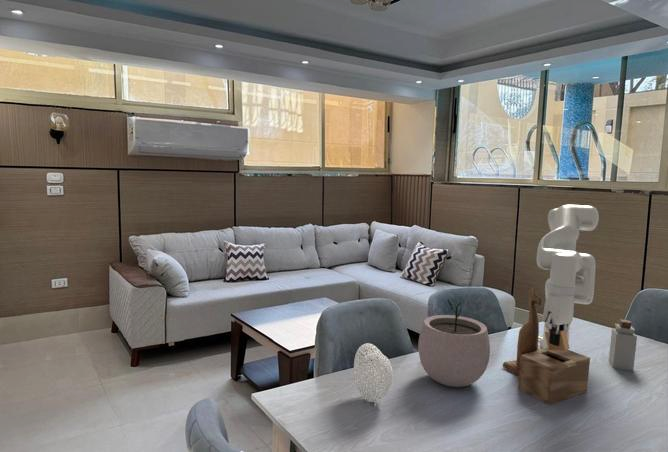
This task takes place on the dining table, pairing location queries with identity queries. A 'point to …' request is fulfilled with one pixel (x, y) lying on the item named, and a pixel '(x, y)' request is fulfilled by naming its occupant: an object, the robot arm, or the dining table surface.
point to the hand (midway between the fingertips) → (556, 343)
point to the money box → (553, 374)
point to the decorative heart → (372, 373)
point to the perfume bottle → (623, 346)
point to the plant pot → (454, 349)
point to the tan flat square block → (562, 341)
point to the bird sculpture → (527, 334)
